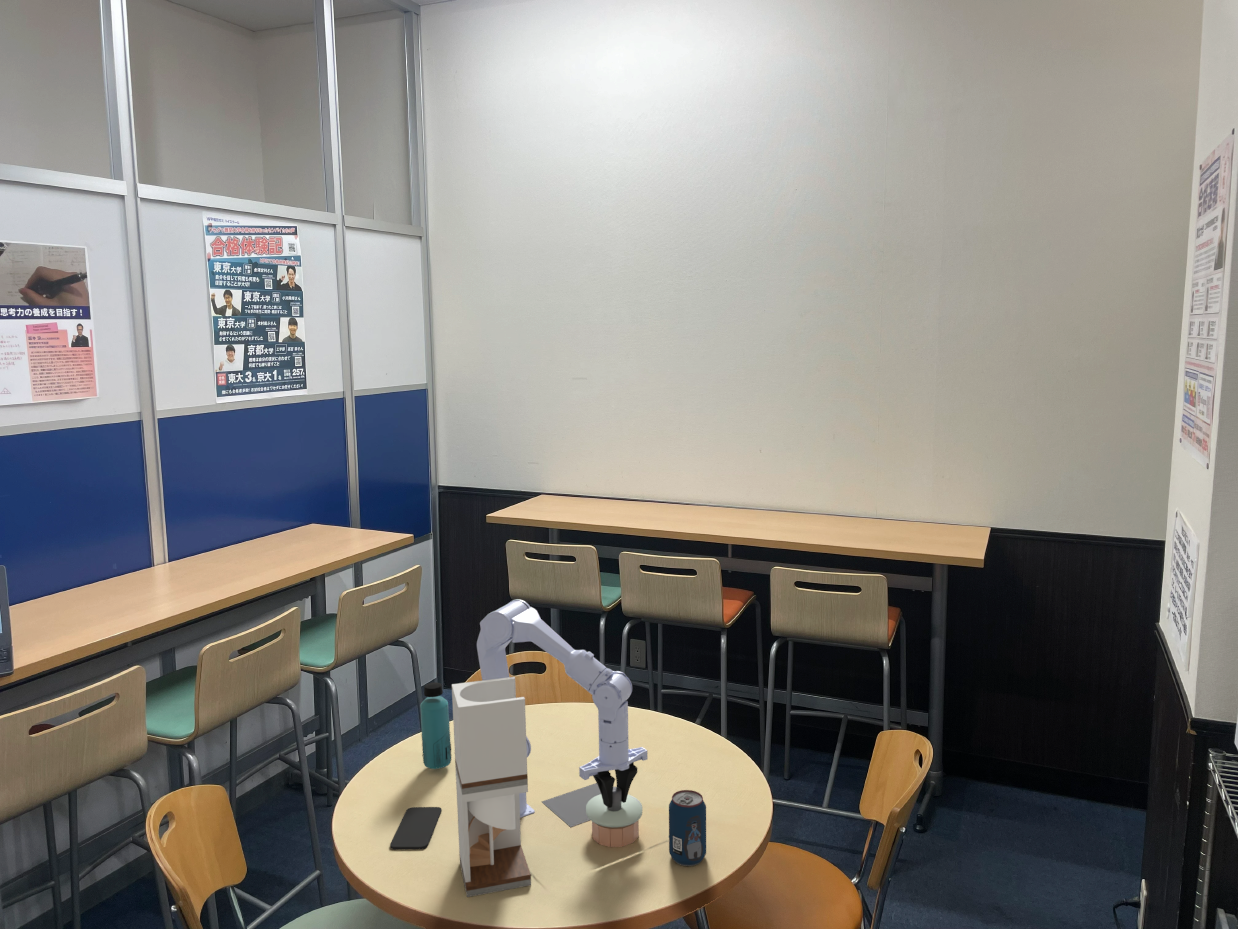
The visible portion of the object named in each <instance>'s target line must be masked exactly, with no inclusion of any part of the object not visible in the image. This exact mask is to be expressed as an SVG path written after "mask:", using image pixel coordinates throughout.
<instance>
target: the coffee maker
mask: <svg viewBox="0 0 1238 929" xmlns="http://www.w3.org/2000/svg"><path fill="white" fill-rule="evenodd" d="M516 689H517V688H516V677H515V676H509V677H508V678H500V679H491V680H483V681H482V680H475V681H467V682H459V683H452V684H451V698H452V699H451V700H452V719H453V720H452V721H453V737H454V738H453V741H454V742H453V743H454V764H455V765H454V766H455V780H456V781H455V785H456V787H455V789H456V805H457V806H456V807H457V808H456V809H457V826H458V827H457V829H458V831H457V833H458V852H459V854H458V855H459V866H460V871H461V875H462V880H463V886H464V890H465V893H466V897H467V898H470V897H474V896H476V897H477V896H480V895H487V894H490V893H496V892H497V893H498V892H501V891H502V892H503V891H507V890H512V889H518V888H523V887H528V886H531V885H532V873H531V871H530V868H529V865H528V863H527V859H526V856H525V852H524V850H523V846H522V843H521V842H522V840H521V839H522V836H521V835H522V834H521V818H520V802H519V793H525V792H526V793H528V792H529V788H528V786H529V783H528V780H529V779H528V757H527V746H526V736H527V721H526V720H527V718H526V698H525V696H520V697H517V694H516V693H517V692H516V691H517V690H516Z"/></svg>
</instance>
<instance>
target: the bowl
mask: <svg viewBox="0 0 1238 929" xmlns="http://www.w3.org/2000/svg"><path fill="white" fill-rule="evenodd" d="M639 821H640V819H639V820H638V821H636V822H635V823H633V824H631V825H628V826H624V827H605V826H601V825H598V824H596V823H594V822H592V821H591V834H592V835H591V836H592V839H593V840H594V841H595V842H596V843H597V844H598V845H601V846H605V847H608V848H621V847H626V846H628V845H631V844H632V843H633V844H634V842H635V841H636V840H637V839H638V837H639V836H640V833H639V831H640V830H639V828H640V827H639Z"/></svg>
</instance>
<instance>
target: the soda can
mask: <svg viewBox="0 0 1238 929" xmlns="http://www.w3.org/2000/svg"><path fill="white" fill-rule="evenodd" d="M668 852H669V855H670V856H671V858H672V860H673V862H675V863H676V864H678V865H680V866H684V867H694V866H696V865H697V866H698V865H699V864H701V863H702V861H703V860H704V858H705V856H706V855H707V804H706V803H705V801H704V797H703V795H702V794H701V793H700V792H698V791H695V790H693V789H692V790H691V789H683V790H682V789H681V790H677V791H676V792H675V793H673V794H672V796H671V800H670V801H669V804H668Z"/></svg>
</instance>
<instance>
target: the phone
mask: <svg viewBox="0 0 1238 929" xmlns="http://www.w3.org/2000/svg"><path fill="white" fill-rule="evenodd" d="M442 810H443V809H442V808H441V807H439V806H413V807H412V806H411V807H408V808H407V809H406V810H405V812H404V814H403V816H402V818H401V820H400V822H399V824H398V827H397V829H396V831H395V833H394V835H393V838H392V840H391V842H390V843H389V848H390V849H391V850H394V851H395V850H396V851H397V850H398V851H399V850H401V851H402V850H405V851H406V850H410V851H411V850H415V851H416V850H425V849H427V848H428V847H429V845H430V842H431V841H432V840H431V839H432V837H433V835H434V832H435V830H436V827H437V825H438V822H439V819H440V817H441V814H442Z"/></svg>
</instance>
